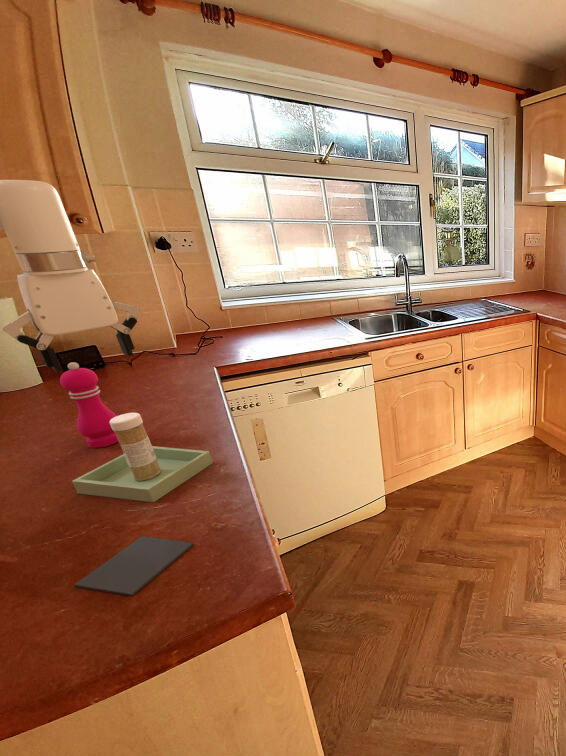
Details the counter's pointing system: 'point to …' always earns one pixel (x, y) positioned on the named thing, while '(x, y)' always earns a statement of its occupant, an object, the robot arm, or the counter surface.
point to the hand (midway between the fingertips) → (94, 361)
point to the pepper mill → (89, 406)
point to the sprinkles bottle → (136, 446)
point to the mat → (134, 566)
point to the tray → (121, 484)
